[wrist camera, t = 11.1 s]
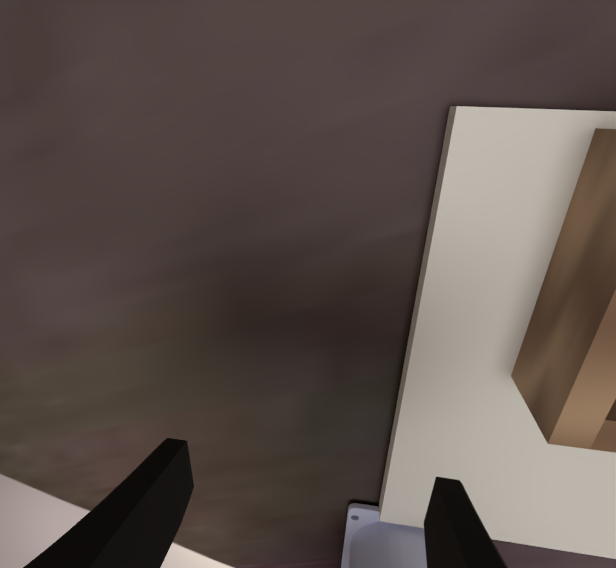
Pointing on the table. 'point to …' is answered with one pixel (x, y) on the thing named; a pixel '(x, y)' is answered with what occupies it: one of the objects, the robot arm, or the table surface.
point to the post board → (495, 338)
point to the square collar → (577, 316)
